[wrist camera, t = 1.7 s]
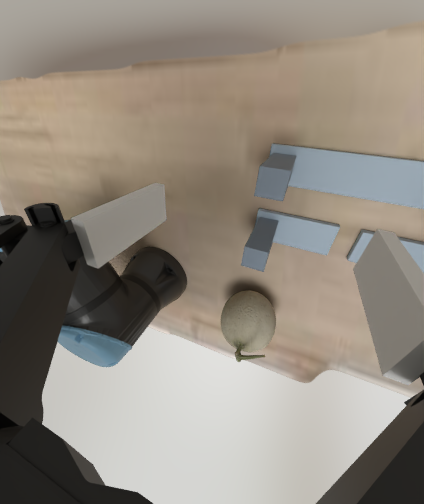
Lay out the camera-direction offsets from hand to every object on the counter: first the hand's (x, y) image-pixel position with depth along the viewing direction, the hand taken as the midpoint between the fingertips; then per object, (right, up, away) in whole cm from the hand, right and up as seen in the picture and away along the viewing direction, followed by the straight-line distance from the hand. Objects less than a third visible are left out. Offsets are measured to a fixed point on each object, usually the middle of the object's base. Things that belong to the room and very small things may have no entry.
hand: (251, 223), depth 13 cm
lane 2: (+11, +2, +20) cm, 23 cm away
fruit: (+7, -12, +32) cm, 35 cm away
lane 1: (+20, +7, +12) cm, 24 cm away
